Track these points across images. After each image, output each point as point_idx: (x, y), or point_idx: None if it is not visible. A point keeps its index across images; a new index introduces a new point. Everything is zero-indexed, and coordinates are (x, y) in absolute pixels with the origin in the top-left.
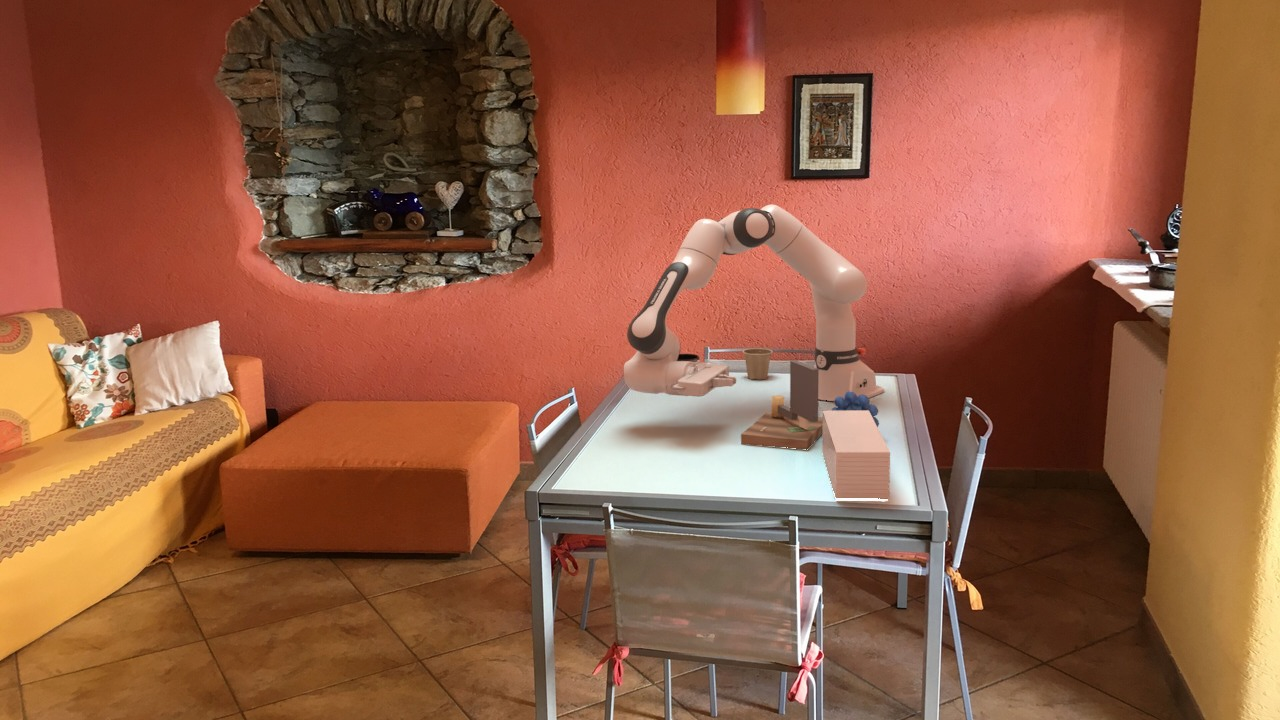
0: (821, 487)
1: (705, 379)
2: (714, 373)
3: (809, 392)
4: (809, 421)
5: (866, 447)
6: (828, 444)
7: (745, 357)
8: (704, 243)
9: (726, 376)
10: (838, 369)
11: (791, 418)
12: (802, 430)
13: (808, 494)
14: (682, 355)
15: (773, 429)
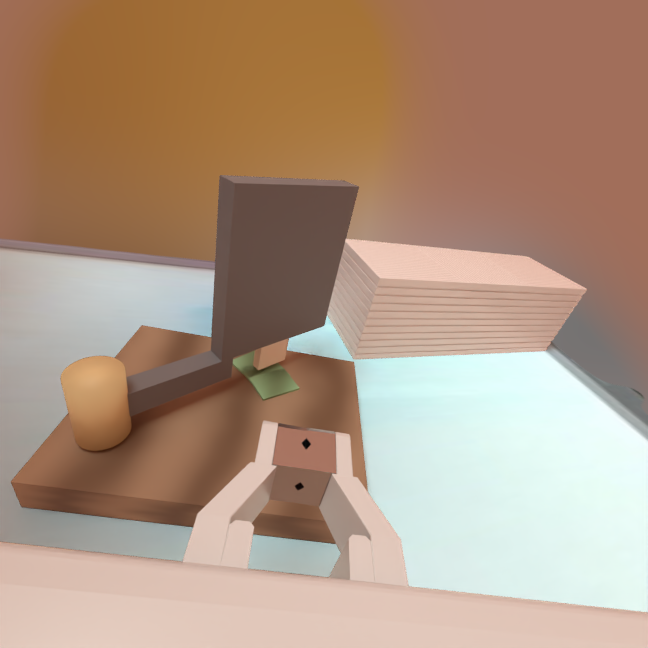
0: (515, 362)
1: (598, 631)
2: (298, 600)
3: (329, 259)
4: (178, 357)
5: (533, 266)
6: (481, 309)
7: None
8: None
9: (260, 484)
10: None
11: (228, 375)
12: (280, 368)
13: (555, 375)
14: None
15: None
